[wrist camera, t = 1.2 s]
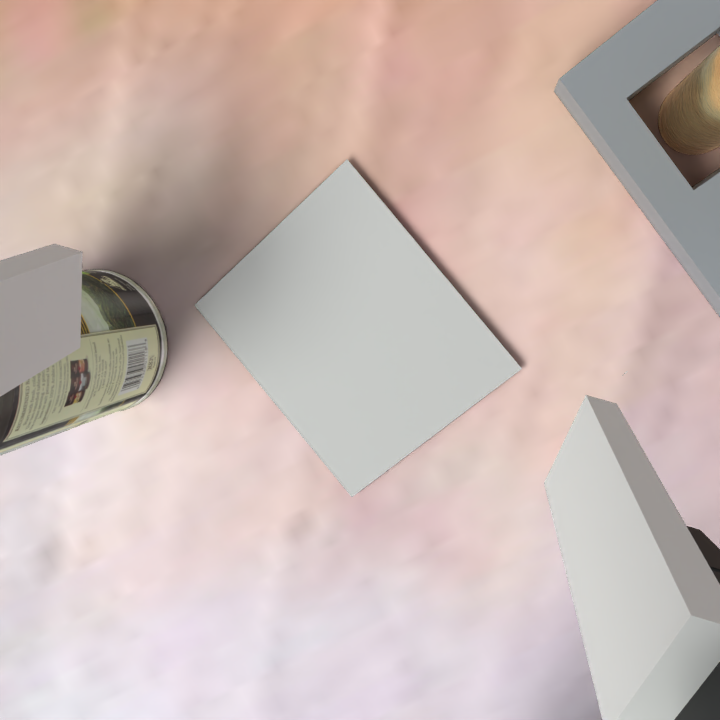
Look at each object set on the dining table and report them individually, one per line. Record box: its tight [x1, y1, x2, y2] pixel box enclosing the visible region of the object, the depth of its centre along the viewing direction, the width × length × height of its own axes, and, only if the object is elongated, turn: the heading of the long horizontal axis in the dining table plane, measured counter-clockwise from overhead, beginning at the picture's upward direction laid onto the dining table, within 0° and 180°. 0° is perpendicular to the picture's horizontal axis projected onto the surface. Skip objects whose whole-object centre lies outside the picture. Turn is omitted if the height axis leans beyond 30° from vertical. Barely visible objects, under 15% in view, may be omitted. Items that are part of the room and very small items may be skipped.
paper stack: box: [195, 160, 627, 497], centre depth 35 cm, size 23×25×1 cm
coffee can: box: [0, 270, 167, 455], centre depth 33 cm, size 10×10×14 cm
